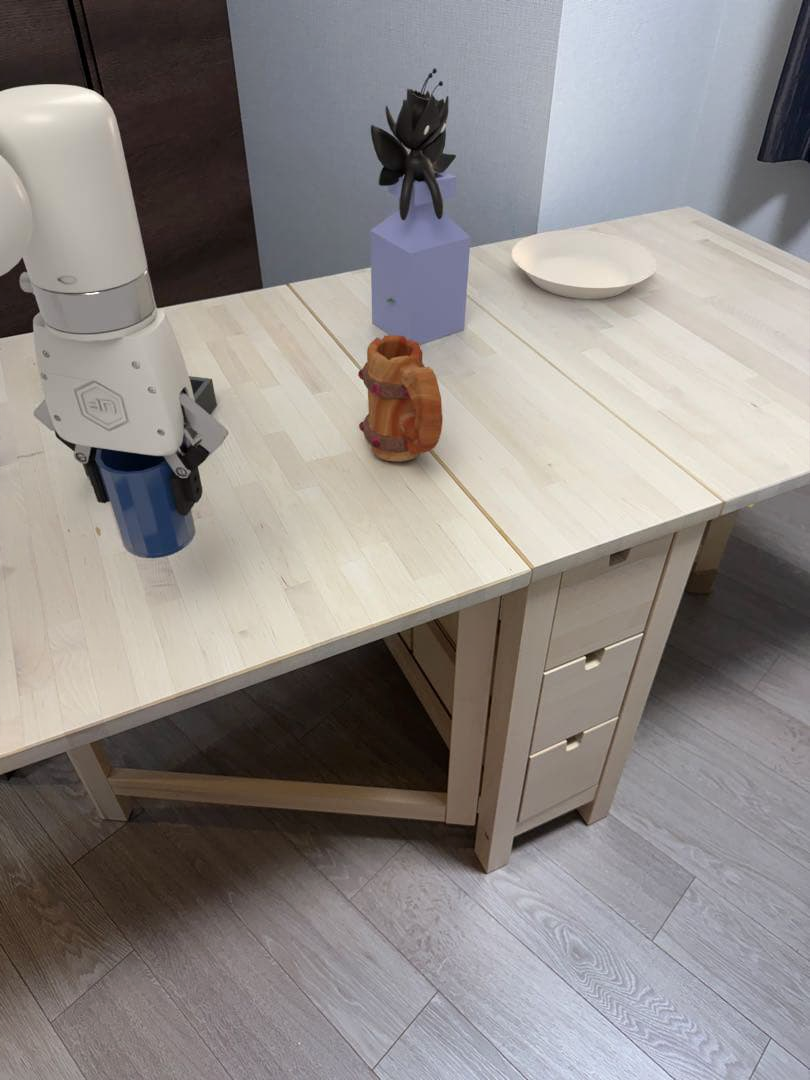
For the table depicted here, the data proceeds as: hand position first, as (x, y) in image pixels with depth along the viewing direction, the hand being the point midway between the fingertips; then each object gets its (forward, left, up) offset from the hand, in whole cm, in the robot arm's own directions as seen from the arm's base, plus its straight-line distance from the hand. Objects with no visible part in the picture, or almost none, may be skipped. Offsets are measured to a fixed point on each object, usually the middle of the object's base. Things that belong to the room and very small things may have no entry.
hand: (149, 497), depth 63 cm
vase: (+11, +64, -15) cm, 67 cm away
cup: (0, 0, -4) cm, 4 cm away
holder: (-16, +27, -15) cm, 35 cm away
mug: (+16, +29, -15) cm, 37 cm away
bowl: (+36, +89, -15) cm, 98 cm away
